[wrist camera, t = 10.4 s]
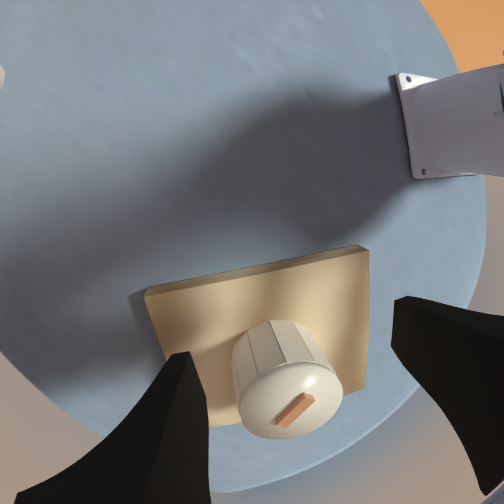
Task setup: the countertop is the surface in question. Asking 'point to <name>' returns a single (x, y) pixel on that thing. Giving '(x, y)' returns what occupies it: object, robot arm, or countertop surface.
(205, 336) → the post board
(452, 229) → the countertop surface
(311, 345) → the cream short cylinder
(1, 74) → the smoothie
